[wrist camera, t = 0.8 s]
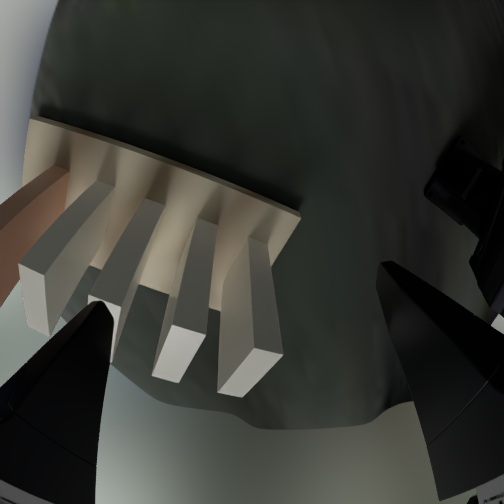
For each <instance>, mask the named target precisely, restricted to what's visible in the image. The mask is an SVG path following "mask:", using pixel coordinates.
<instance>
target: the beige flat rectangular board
mask: <svg viewBox="0 0 504 504" xmlns="http://www.w3.org/2000/svg"><path fill="white" fill-rule="evenodd" d="M53 165H56V166H58V167H61V168H64V169H67V170H70V174H69V180H68V187H67V194H66V202H65V210H66V209H67V208H68V207H69V206H70V205H71V204H72V203H73V202H74V201H75V200H76V199H77V198H78V197H79V196H80V195H81V194H82V193H83V192H84V191H85V190H86V189H88V188H89V187H90V186H91V185H92V184H93V183H94V182H95V181H96V180H97V181H100V182H103V183H106V184H108V185H111V186H114V187H115V191H114V195H113V199H112V204H111V208H110V213H109V217H108V222H107V227H106V232H105V238H104V242H103V244H102V245H101V247H100V248H99V250H98V252H97V253H96V255H95V256H94V258H93V260H92V261H91V263H90V264H89V265H91V266H94V267H96V268H99V269H101V270H102V268H103V267H104V265H105V263H106V261H107V259H108V258H109V256H110V254H111V252H112V251H113V249H114V247H115V246H116V244H117V242H118V240H119V239H120V237H121V235H122V234H123V232H124V231H125V229H126V227H127V226H128V224H129V222H130V221H131V219H132V218H133V216H134V214H135V213H136V211H137V210H138V208H139V207H140V205H141V204H142V202H143V201H144V199H145V198H146V199H149V200H152V201H154V202H157V203H160V204H163V205H165V209H164V212H163V215H162V218H161V221H160V224H159V227H158V230H157V233H156V236H155V239H154V243H153V246H152V249H151V252H150V256H149V259H148V261H147V264H146V266H145V269H144V271H143V274H142V276H141V279H140V282H139V284H141V285H144V286H147V287H150V288H152V289H155V290H158V291H161V292H164V293H167V294H170V292H171V288H172V284H173V280H174V276H175V272H176V268H177V266H178V263H179V261H180V258H181V256H182V253H183V251H184V248H185V246H186V243H187V241H188V238H189V236H190V233H191V231H192V228H193V226H194V223H195V221H196V219H197V218H200V219H203V220H205V221H208V222H210V223H213V224H216V225H218V228H217V236H216V244H215V253H214V261H213V270H212V280H211V289H210V299H209V308H212V309H216V310H219V311H221V301H222V284H223V282H224V281H225V279H226V277H227V275H228V273H229V271H230V269H231V268H232V266H233V264H234V262H235V260H236V258H237V257H238V255H239V253H240V251H241V249H242V247H243V245H244V244H245V242H246V240H247V238H248V237H250V238H252V239H255V240H258V241H260V242H263V243H265V244H268V251H269V257H270V264H271V266H272V264H273V263H274V261H275V259H276V258H277V256H278V255H279V253H280V251H281V250H282V248H283V247H284V245H285V243H286V242H287V240H288V239H289V237H290V235H291V234H292V232H293V231H294V229H295V227H296V226H297V224H298V222H299V221H300V219H301V216H300V214H299V212H298V211H296V210H293V209H291V208H289V207H287V206H284V205H282V204H280V203H278V202H275V201H273V200H271V199H268V198H266V197H264V196H261V195H259V194H257V193H254V192H252V191H249V190H247V189H245V188H242V187H240V186H237V185H235V184H233V183H230V182H228V181H225V180H223V179H220V178H218V177H215V176H213V175H210V174H208V173H205V172H202V171H200V170H197V169H195V168H192V167H190V166H187V165H184V164H182V163H179V162H176V161H174V160H171V159H168V158H166V157H163V156H160V155H157V154H155V153H152V152H149V151H146V150H143V149H141V148H138V147H135V146H132V145H129V144H126V143H123V142H120V141H117V140H114V139H111V138H108V137H105V136H102V135H99V134H96V133H93V132H90V131H87V130H83V129H80V128H77V127H74V126H70V125H67V124H64V123H60V122H57V121H54V120H50V119H47V118H43V117H39V116H36V117H33V118H30V121H29V127H28V133H27V140H26V148H25V156H24V166H23V178H22V187H24V186H25V185H26V184H28V183H29V182H30V181H32V180H33V179H34V178H36V177H37V176H38V175H40V174H41V173H43V172H44V171H46V170H47V169H48V168H50V167H51V166H53ZM65 210H64V211H65Z"/></svg>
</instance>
